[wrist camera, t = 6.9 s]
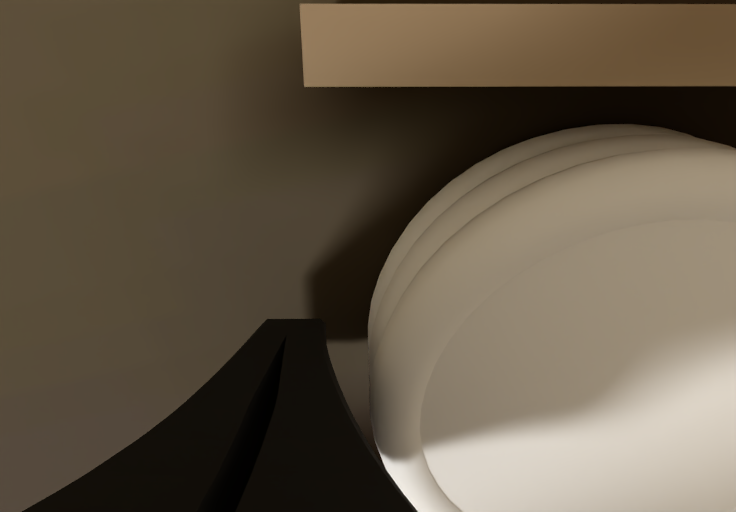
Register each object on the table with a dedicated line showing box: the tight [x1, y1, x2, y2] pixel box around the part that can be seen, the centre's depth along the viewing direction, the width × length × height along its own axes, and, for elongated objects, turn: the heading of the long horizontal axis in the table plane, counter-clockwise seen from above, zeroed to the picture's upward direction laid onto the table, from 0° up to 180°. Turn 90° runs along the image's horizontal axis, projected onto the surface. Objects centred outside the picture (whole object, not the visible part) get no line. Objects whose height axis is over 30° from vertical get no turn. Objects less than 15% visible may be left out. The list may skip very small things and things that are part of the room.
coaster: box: [368, 124, 736, 512], centre depth 10 cm, size 10×10×4 cm
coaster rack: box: [300, 4, 736, 87], centre depth 10 cm, size 14×12×3 cm
